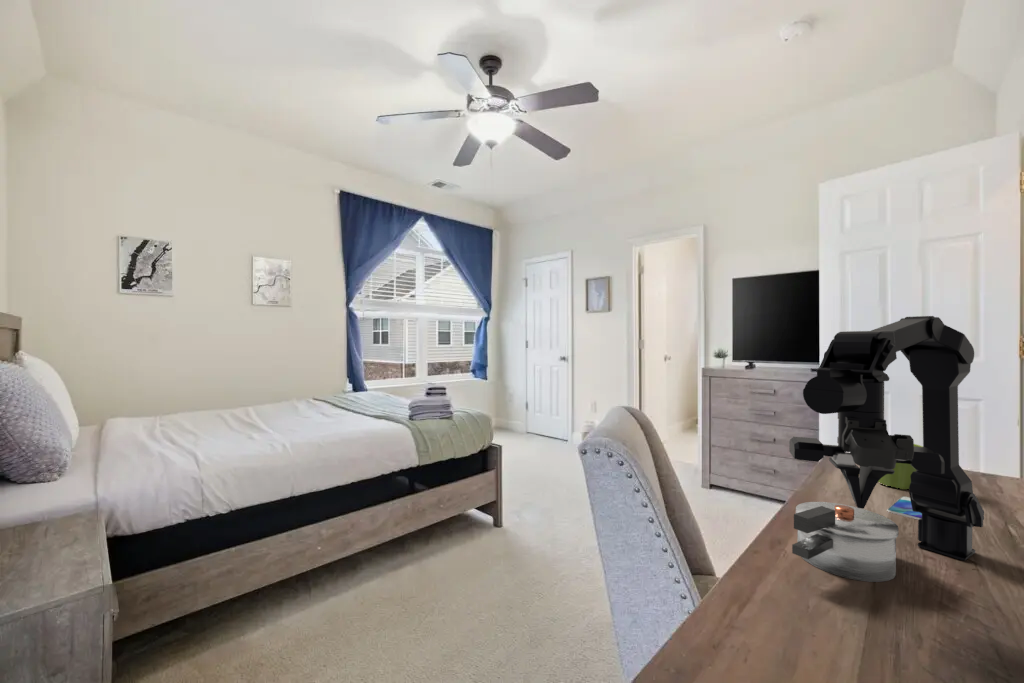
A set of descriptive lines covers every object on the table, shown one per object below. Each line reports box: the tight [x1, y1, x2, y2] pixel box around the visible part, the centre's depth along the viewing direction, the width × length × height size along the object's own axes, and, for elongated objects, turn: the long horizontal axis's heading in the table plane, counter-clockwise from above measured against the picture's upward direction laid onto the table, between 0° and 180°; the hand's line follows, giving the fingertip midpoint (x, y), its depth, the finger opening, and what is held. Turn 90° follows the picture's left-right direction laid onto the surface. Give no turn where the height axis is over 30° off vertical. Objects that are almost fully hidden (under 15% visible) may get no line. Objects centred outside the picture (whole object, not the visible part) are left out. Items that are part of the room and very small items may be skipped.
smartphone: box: [886, 495, 922, 520], centre depth 103 cm, size 7×1×15 cm
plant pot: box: [878, 443, 923, 490], centre depth 120 cm, size 12×12×11 cm
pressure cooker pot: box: [791, 530, 897, 583], centre depth 78 cm, size 25×14×6 cm, turn 121°
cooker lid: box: [793, 501, 900, 541], centre depth 78 cm, size 20×15×3 cm
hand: (859, 507), depth 71 cm, fingers closed
